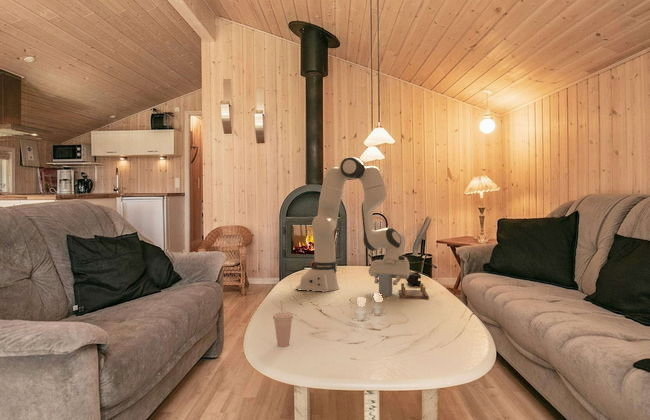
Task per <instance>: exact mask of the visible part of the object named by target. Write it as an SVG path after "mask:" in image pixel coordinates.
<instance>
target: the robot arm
mask: <svg viewBox="0 0 650 420" xmlns="http://www.w3.org/2000/svg"><path fill="white" fill-rule="evenodd" d="M323 178H324V179H323V181H322V185H321V189H320V195H319V200H318V210H317V215H316V216H315V217H314V218H313V220H312V222H311V229H312V230H311V231H312V239H313V246H314V247H313V248H314V249H313V250H314V252H313V253H314V260H313V261H311V262H310V269H309V270H308V271H306V272H305V273H304V274H303V275H302V276H301V277H300V280H299V281H300V282H299V284H298V285H297V286H296V287H295V289H296V288H297V289H301V290H312V291H311V292H315V291H322V292H321V293H326V292H331V291H336V290H339V288H340V286H339V281H338V276H337V271H338V268H337V267H338V265H337V261H336V260H337V259H336V256H337V255H336V241H335V230H336V228H337V226H338V225H337V224H338V218H339V213H340V206H341V202H342V197H343V191H344V188H345V187H344V186H345V183H346V181H350V180H359V181H360V183H361V184H362V188H363V194H364V196H363V197H364V198H363V201H362V204H361V217H362V219H361V220H362V228H363V237H362V238H363V240H362V241H363V245H364V247H366V249H368V250H369V251H372V252H374V251H377V250H380V249H385V250H386V251H385V252H384V255H383V259H375V260H373V261H371V264H370V266H369V269H368V274H369V276H370V277H374V284H378V285H379V274H382V273H384V274H392V286H397V284H398V283H399V282H400V281H401V279H403V280H406V279H407V278H408V277H409V273H410V271H411V270H410V262H409V260H408V257H406V256H403V254H404V252H405V249H406V245H407V244H406V241H407V240H406V236H405V235H404V234H403V233H401V232H398V231H397V230H396V229H394V228H393V227H391V226H389V227H384V228H381V229H377V230H375V228H374V227H375V225H374V215H373V214H374V212H375V210H376V209H377V208H378V207H380V206H381V205H382V204H383V203H384V202H385V201H386V199H387V187H386V185H385V181H384V178H383V175H382V173H381V171H380V169H379V168H378V167H377V166H373V165H370V166H365V163H363V161H362V160H361V159H360V158H358V157H354V156H347V157H345V158H344V159H343V160H342V161H341V162H340V166H339V167H336V166H334V167H329V168H328V169H327V171H326V173H325V175H324V177H323ZM393 279H394V280H393ZM325 291H326V292H325Z"/></svg>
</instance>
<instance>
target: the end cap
mask: <svg viewBox="0 0 650 420" xmlns="http://www.w3.org/2000/svg"><path fill="white" fill-rule="evenodd" d="M419 279H422V275H421V273H419V272H418V271H417V272H416V271H413V272H412V271H411V270H410V273H409V277H408V278H407V279H405V281H406V282H407V284H409V285H410V286H411V287H419V286H420V284H421V283H422V281H421V280H419ZM419 288H420V287H419Z"/></svg>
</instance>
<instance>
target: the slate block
mask: <svg viewBox="0 0 650 420" xmlns="http://www.w3.org/2000/svg"><path fill="white" fill-rule="evenodd" d="M378 280H379V282H378V294H379V293H380V294H382V295H386V296H385V297H390V296H392V295H393V278H392V274H384V273H382V274H379V277H378Z"/></svg>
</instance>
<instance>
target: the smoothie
mask: <svg viewBox="0 0 650 420" xmlns="http://www.w3.org/2000/svg"><path fill="white" fill-rule="evenodd" d="M293 318H294V316H293V313H291V312H285V311H284V312H283V300H280V312H277V313H274V314H273V315H272V319H273V321H274V329H275V336H276V343H277V344H276V345H277V346H278V347H280V348H283V347H284V348H285V347H288V346H290V340H291V333H292V332H291V330H292V321H293V320H292V319H293Z"/></svg>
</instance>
